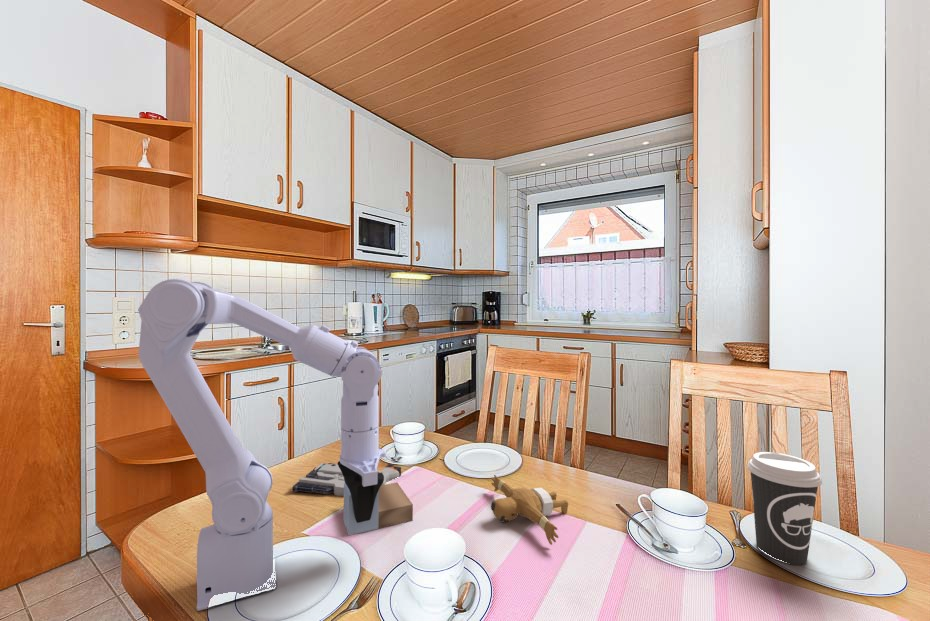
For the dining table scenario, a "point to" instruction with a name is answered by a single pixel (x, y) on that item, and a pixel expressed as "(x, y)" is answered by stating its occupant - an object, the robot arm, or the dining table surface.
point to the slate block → (350, 517)
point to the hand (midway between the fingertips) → (359, 512)
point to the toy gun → (334, 479)
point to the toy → (527, 506)
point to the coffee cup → (783, 504)
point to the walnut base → (393, 506)
